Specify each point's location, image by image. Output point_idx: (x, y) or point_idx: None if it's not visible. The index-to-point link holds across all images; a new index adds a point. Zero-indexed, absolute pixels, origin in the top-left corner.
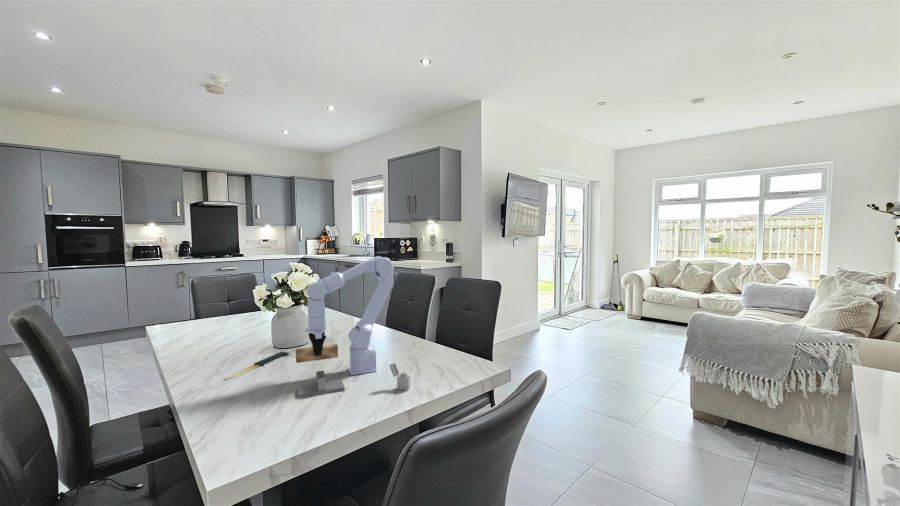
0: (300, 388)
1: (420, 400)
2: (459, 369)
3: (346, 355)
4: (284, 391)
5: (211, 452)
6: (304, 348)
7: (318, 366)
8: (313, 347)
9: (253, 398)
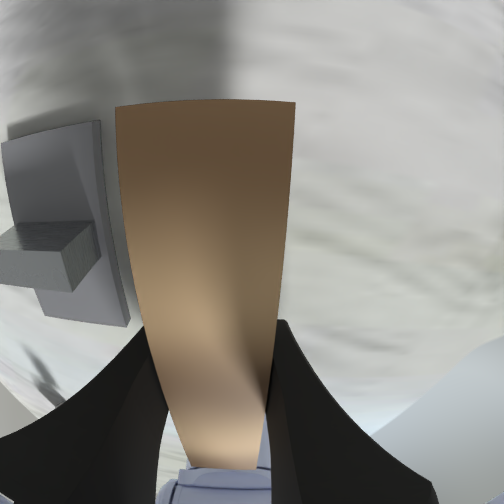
0: (54, 140)
1: (19, 397)
2: (158, 478)
3: (441, 359)
4: (96, 55)
5: None
6: (260, 261)
7: (409, 254)
8: (95, 378)
9: None
